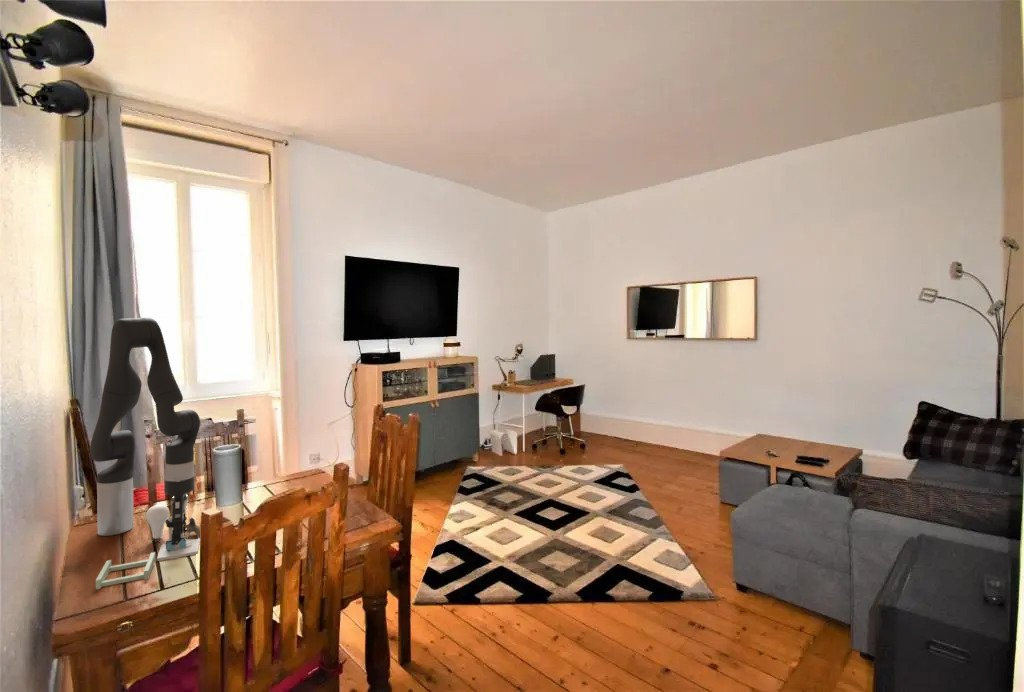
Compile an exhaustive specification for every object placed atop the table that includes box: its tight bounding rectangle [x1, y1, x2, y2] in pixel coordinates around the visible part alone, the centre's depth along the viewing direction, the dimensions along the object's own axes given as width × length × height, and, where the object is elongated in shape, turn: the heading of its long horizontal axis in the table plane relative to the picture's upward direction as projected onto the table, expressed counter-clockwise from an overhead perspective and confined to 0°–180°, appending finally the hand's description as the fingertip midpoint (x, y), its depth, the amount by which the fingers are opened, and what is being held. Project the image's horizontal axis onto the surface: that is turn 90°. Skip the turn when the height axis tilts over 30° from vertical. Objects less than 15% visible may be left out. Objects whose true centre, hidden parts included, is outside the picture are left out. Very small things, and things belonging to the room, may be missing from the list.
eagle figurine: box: [183, 517, 201, 540], centre depth 155 cm, size 8×7×9 cm
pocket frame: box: [95, 551, 156, 590], centre depth 131 cm, size 12×11×2 cm
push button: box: [165, 514, 192, 552], centre depth 145 cm, size 7×5×10 cm
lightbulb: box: [145, 504, 170, 540], centre depth 153 cm, size 6×6×11 cm
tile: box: [156, 538, 201, 562], centre depth 145 cm, size 10×10×1 cm
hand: (179, 528), depth 145 cm, fingers open, 8 cm apart
